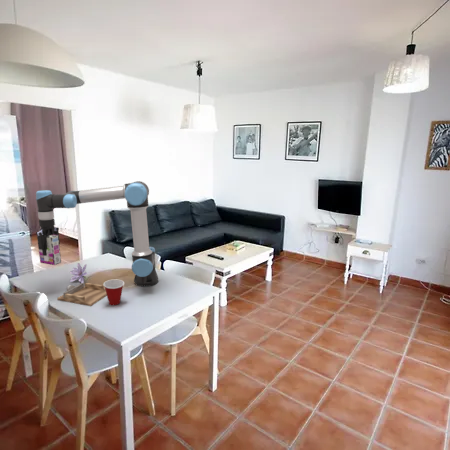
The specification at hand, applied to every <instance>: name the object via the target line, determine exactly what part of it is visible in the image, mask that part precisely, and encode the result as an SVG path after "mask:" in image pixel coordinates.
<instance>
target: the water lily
mask: <svg viewBox="0 0 450 450" xmlns="http://www.w3.org/2000/svg"><path fill="white" fill-rule="evenodd" d="M86 269H87V263H86V264H85V265H84V266H81V264H80V263H79V262H78V263H77V266H76V267H73V268H72V270H70V272H69V273H70V274H71V275H73V276H71V278H70V280H69V282H71V283H72V282H75V281H77V280H78V281H79V282H80V284H81V283H83V284H84V281H85V279H86V276H87V275H88V272H85V271H86Z"/></svg>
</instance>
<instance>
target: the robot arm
mask: <svg viewBox="0 0 450 450" xmlns="http://www.w3.org/2000/svg"><path fill="white" fill-rule="evenodd" d="M149 195H150V189H149V186H148V185H147V184H146V183H145V182H143V181H140V180H139V181H138V180H137V181H134V182H129V183H124V184H123V185H117V186H110V187H101V188H91V189H84V190H70V191H68V192H65V193H62V194H61V193H60V194H58V193H57V194H56V193H55V194H54V193H52V191H51V190H49V189H47V190H46V189H45V190H37V191H36V192H35V196H36V197H35V198H36V199H35V201H36V208H37V216H38V217H37V218H38V219H39V220H38V225H39V227H40V229H39V231H37V232H35V234H36V239H37V238H38V240H37V247H38V250H39V249H40V250H42V252H43V256H44V261H49V253H48V249H47V236H49V235H58V237H59V238H60V235H59V234H60V233H59V230H60V228H59V227H58V226H57V227H55V225H56V222H55V213H54V209H74V208H76V207H77V205H78V204H86V203H88V204H89V203H96V202H106V201H115V200H123V199H124V200H126V206H127V209H129V210H130V220H131V229H132V230H131V231H132V241H133V251H132V253H131V259H132V264H131V271H132V273H133V274H134V279H133V283H134V282H135V283H136V284H137V285H136V284H135V283H134V284H135V285H136V286H138V287H151V286H154V285H156V284H158V283H159V276H158V273H157V270H156V249H155V247H154V246H150V242H149V227H148V217H147V208H149V207H150V205H149ZM60 244H61V241H60V239H59V245H60Z"/></svg>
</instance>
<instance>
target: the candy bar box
mask: <svg viewBox="0 0 450 450" xmlns="http://www.w3.org/2000/svg"><path fill="white" fill-rule="evenodd" d="M36 240H37V241H38V238H37V237H36ZM59 240H60V236H59V237H58V235H49V236H47V249H48V253H49V261H44V256H43V252H42V250H40V249H39V248H38V254H39V263H41V264H45V265H52V266H56V265H57V266H58V265H59V264H61V263H62V256H61V255H62V254H61V250H60V244H59Z"/></svg>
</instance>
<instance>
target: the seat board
mask: <svg viewBox="0 0 450 450" xmlns="http://www.w3.org/2000/svg"><path fill="white" fill-rule="evenodd" d="M106 297H107V294H106V290H105V287H104V285H103V284H97V283H91V282H85V283H84V282H83V283H81V282H80V283H79V284H77V285H71V284H69V285H67V286H66V291H64V292H63V293H62V295H60V296H59V297H57V299H56V300H57V301H61V302H67V303H71V304H77V305H83V306H88V307H92V306H93V305H94V304H96V303H98V302H100V301H101V300H103V299H105V298H106Z"/></svg>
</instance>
